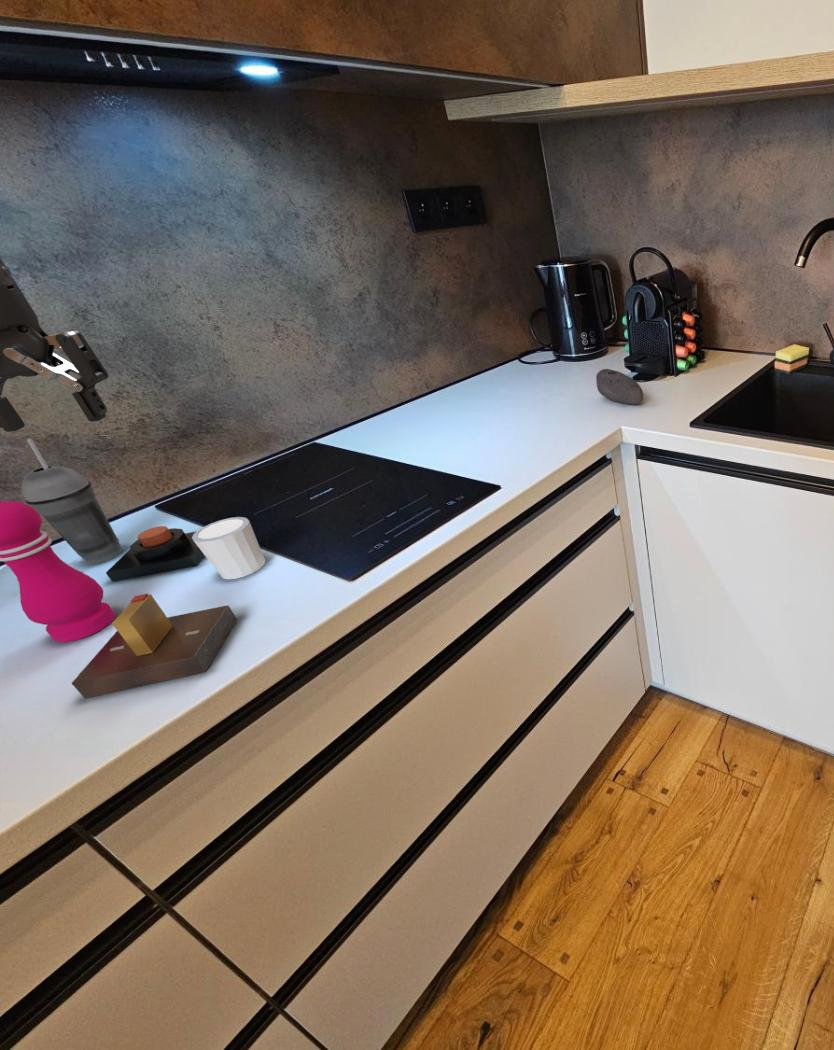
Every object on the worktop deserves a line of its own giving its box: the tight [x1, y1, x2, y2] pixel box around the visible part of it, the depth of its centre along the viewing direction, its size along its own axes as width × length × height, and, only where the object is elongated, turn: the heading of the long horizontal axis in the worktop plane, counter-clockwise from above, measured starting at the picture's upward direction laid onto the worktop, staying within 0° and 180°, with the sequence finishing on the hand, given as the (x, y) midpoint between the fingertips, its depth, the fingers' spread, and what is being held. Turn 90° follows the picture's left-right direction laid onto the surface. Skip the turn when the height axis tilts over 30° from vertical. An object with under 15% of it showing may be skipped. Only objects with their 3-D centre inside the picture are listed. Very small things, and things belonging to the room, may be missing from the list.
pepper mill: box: [0, 500, 116, 643], centre depth 72 cm, size 7×7×20 cm
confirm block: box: [105, 527, 206, 583], centre depth 90 cm, size 11×9×4 cm
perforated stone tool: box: [595, 368, 644, 406], centre depth 139 cm, size 15×5×7 cm, turn 44°
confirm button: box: [137, 525, 173, 547], centre depth 89 cm, size 4×4×2 cm
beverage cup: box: [21, 438, 124, 565], centre depth 88 cm, size 7×7×20 cm
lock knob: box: [111, 593, 173, 656], centre depth 68 cm, size 5×2×5 cm, turn 16°
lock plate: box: [71, 604, 238, 699], centre depth 70 cm, size 12×10×3 cm
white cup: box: [192, 516, 266, 580], centre depth 85 cm, size 7×7×7 cm
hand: (58, 424), depth 71 cm, fingers open, 8 cm apart
